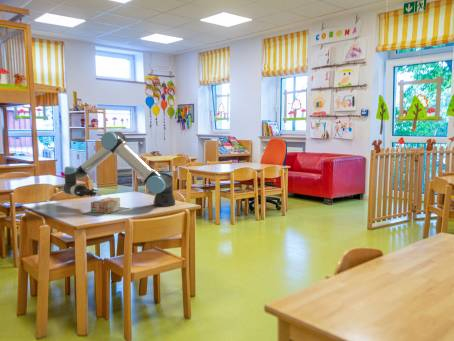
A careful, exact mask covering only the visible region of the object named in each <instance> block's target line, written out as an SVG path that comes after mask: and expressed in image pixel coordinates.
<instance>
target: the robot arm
mask: <svg viewBox="0 0 454 341" xmlns="http://www.w3.org/2000/svg"><path fill="white" fill-rule="evenodd" d="M100 145H101V146H102V147H100V148H99V150H98V151H96V152H95V153H94V154H92V155H91V156H90V157H89V158H88V159H86V160H85V161H84V162H83V163H82V164H81V165H79V166H78V167H76V166H73V165H70V166H65V167H64V173H63V174H64V184H63V185H62V188H61V191H62V192H63V193H64V194H66V195H69V196H70V195H71V196H75V197H85V196H90V197H93V196H96V197H101V196H102V192H101V191H98V190H97V189H95V188H91V189H90V188H87V187H86V186H85V185H82V184H78V182H77V181H78V180H77V179H83V178H86V177H88V175H89V173H90V172H92V171H93V170H94V169H95V168H96V167H97V166H98V165H99V164H101V163H103V161H105V160H106V159H108V157H110V156H111V155H112V154H113V155H117V156H118V157H119V158H120V159H122V160H123V161H124V162H125V163H126V164H127V165H128V166H129V167H130V168H131V169H132V170H133V171H134V172H135V173H136V174H137V175H138V176H139V177H141V178H142V180H143V181H142V182H143V183H144V184H145V186H146V188H147V190H148V191H149V192H150V193H152V194H155V195H154V200H153V206H154V207H155V206H156V207H170V206H171V207H172V206H175V205H176V200H175V197H174V189H173V188H174V186H173V185H174V184H173V183H174V182H173V181H174V180H173V179H174V175H173V172H172V171H171V172H170V171H168V172H167V171H158V170H157V169H153V168H151V167H150V166H149V165H148V164H147V163H146V162H145V161H144V160H143V159H142V158H140V156H138V154H136V153H135V152H134V151H133V150H132V149H131V148H130V147H129V146H128V144H127V137H126V136H125V134H124V133H122V132H121V131H106V132H105V133H104V134H102V136H101V138H100Z"/></svg>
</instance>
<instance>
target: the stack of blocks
mask: <svg viewBox="0 0 454 341" xmlns="http://www.w3.org/2000/svg"><path fill="white" fill-rule="evenodd" d="M118 207H121V197H106V198H101V199H99V200H95V201H91V202H90V212H100V213H109V214H111V213H110V212H113V211H116V210H118Z"/></svg>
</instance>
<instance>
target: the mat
mask: <svg viewBox="0 0 454 341" xmlns="http://www.w3.org/2000/svg"><path fill="white" fill-rule="evenodd" d="M127 210H130V207H124V206H120V207H118V210H116V211H113V212H110V213H109V214H112V213H117V212H121V211H127ZM104 214H105V215H108V213H100V212H91V211H87V212H83V213H82V215H88V216H93V217H100V215H101V216H104Z"/></svg>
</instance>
